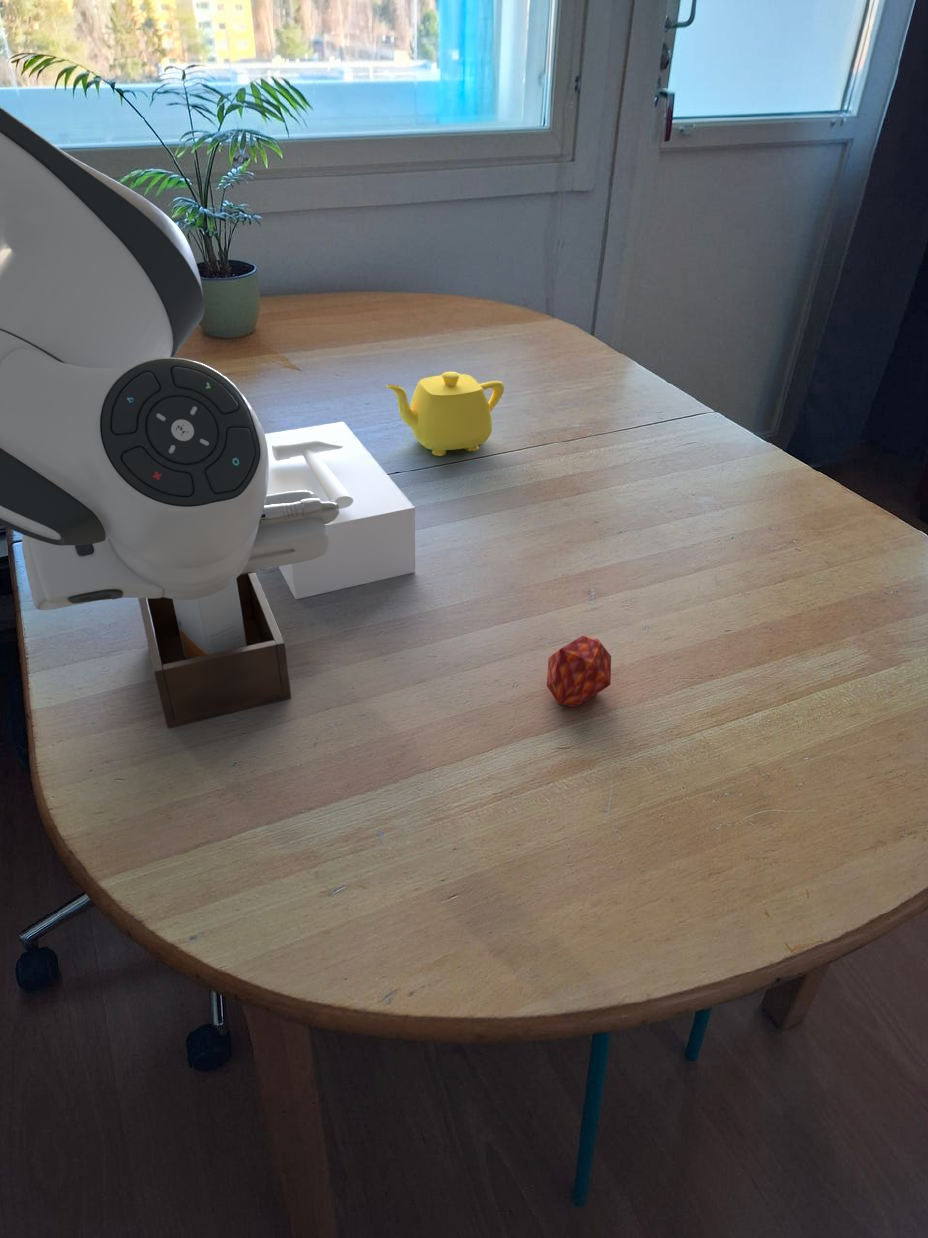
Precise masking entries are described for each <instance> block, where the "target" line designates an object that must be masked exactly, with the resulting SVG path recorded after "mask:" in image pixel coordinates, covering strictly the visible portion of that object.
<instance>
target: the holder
mask: <svg viewBox="0 0 928 1238" xmlns="http://www.w3.org/2000/svg"><path fill="white" fill-rule="evenodd" d="M236 581H237V587H238V594H239V600H240V606H241V612H242V619H243V625H244V631H245V638H246V644H247V646H245V647H241V648H236V649H232V650H227V651H223V652H218V653H214V654H209V655H205V656H200V657H196V658H191V659H187V658H186V657H185V656H184V651H183V646H182V641H181V637H180V632H179V627H178V623H177V618H176V614H175V609H174V604H173V599H171V598H166V597H161V598H137V600H138V604H139V608H140V613H141V618H142V623H143V627H144V631H145V637H146V642H147V646H148V647H147V648H148V651H149V656H150V660H151V665H152V666H151V667H152V670H153V676H154V679H155V683H156V688H157V691H158V695H159V700H160V703H161V708H162V711H163V716H164V720H165V724H166V728H167V729H170V728H174V727H178V726H183V725H187V724H192V723H195V722H199V721H203V720H208V719H211V718H216V717H219V716H220V717H221V716H225V715H228V714H232V713H236V712H240V711H245V710H248V709H252V708H256V707H260V706H264V705H269V704H273V703H277V702H281V701H284V700H290V699H292V692H291V683H290V676H289V668H288V660H287V651H286V645H285V641H284V638H283V636H282V633H281V631H280V628H279V626H278V624H277V622H276V619H275V617H274V614H273V611H272V609H271V607H270V604H269V602H268V599H267V597H266V594H265V591H264V589H263V587H262V585H261V582H260V579H259V577H258V575H257V572H255V573H250V574H244V575H239V576H238V577H237V578H236Z"/></svg>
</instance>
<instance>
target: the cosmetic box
mask: <svg viewBox="0 0 928 1238" xmlns="http://www.w3.org/2000/svg"><path fill="white" fill-rule="evenodd" d="M173 604H174V609H175V614H176V618H177V623H178V627H179V632H180V637H181V641H182V646H183V651H184V656H185V657H186V658H187V659H191V658H196V657H200V656H205V655H209V654H214V653H218V652H223V651H227V650H232V649H236V648H241V647H245V646H247V644H246V638H245V631H244V625H243V619H242V612H241V606H240V600H239V594H238V587H237V581H236V579H235V580H234V581H233V582H232V583H231V584H230V585H228V586H227V587H225V588H224V589H222V590H220V591H219V592H217V593H214V594H212V595H209V596H206V597H202V598H198V599H190V600H179V599H173Z"/></svg>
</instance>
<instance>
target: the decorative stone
mask: <svg viewBox="0 0 928 1238" xmlns="http://www.w3.org/2000/svg"><path fill="white" fill-rule="evenodd" d="M547 663H548V665H547V676H546V677H547V679H546V687H547V689H548V690H549V692H550V693H551V695H552V696H553V698H554V699H555V700H556V701H555V702H556V703H557V704H558V705H562V706H569V707H574V708H576V707H578V706H580V705H582V704H583V703H584V702H587V700H589V699H591V698H592V697H594V696H595V695H597V694H599V693H600V692H602V691H603V690H605V689H606V688H608V687H610V686H611V683H612V682H611V681H612V680H611V679H612V655H611V654H610V653H609V652H608V650H607V649H606V647H605V646H604V644H603V643H602V642H601V641H600V639H597V638H594V637H589V636H586V635H581V636H580V637H578V638H576V639H574V640H573V641H571V642H569V643H568V644H566V645H565V646H562V647H561V648H559V649H558V650H557V651H556V652H554V653H553V654H552V655H551V656H549V657H548V662H547Z"/></svg>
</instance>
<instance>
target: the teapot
mask: <svg viewBox="0 0 928 1238" xmlns="http://www.w3.org/2000/svg"><path fill="white" fill-rule="evenodd" d="M385 386H386V387H387V389H390V390H392V392H394V394H395V396H396V399H397V405H398V412H399V415H400V418H401V420H402V421H403V423H405V424H406V425H407V426H408V427H409V428H410V430H411V432H412V434H413V436H415V438H416V440H417V441H418V442H419V444H421V445H422V446H423V447H424V448H425V449H428V450H430V451H431V454H432V455H433V456H438V457H441V456H442V457H443V456H445V455H446V454H447V451H453V450H462V449H465V450H466V451H468V452H477V451H479V449H480V447H479V445H482V444H485V443H486V442H487V440H488V439H489V438H490V436H491V434H492V431H493V420H492V419H493V418H492V411H493V410H494V408H495V407H496V406H497V404H498V403H499V401H500V400H501V399H502V396H503V394H504V391H505V385H504V383H503V382H502V381H500V380H491V381H486V382H482V383H479V381H477V380H476V378H474V377H473V376H472V375H470V374H467V373H466V374H465V373H458V372H456V371H445V372H442V373H441V374H439V375H432V376H428V377H424V378H421V379H420V380H419V381H418V382H417V385H416V387H415V390H414V391H413V395H412V397H411V400H410V404H409V401H408V396H407V393H406V391H405V389H404V388H403V387H402V386H400V385H397V384H385ZM491 389H492V394H491V396H490V398H489V401H488V398H487V395H486V393H485V390H491Z"/></svg>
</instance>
